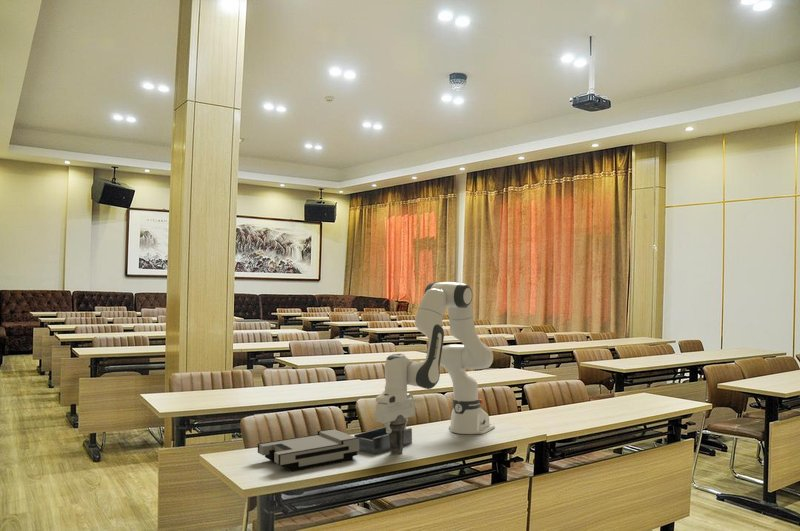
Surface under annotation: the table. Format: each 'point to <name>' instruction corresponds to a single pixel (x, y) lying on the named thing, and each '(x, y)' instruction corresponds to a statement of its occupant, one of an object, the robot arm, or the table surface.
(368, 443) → the grey open box
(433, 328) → the robot arm
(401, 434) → the beverage cup
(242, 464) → the table surface
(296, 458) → the game console
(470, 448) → the table surface
